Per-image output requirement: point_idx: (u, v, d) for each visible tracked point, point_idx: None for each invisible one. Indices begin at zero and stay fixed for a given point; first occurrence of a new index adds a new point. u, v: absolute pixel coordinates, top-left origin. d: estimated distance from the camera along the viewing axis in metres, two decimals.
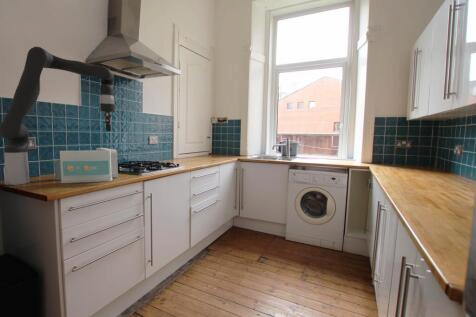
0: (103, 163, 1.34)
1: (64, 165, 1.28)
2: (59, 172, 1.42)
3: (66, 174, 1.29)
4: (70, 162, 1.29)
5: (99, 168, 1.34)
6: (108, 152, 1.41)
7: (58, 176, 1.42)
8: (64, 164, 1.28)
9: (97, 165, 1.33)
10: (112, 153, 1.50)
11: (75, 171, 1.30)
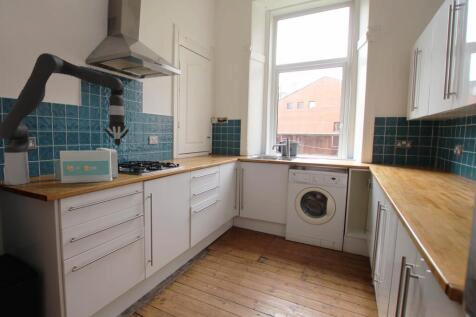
0: (103, 163, 1.34)
1: (64, 165, 1.28)
2: (59, 172, 1.42)
3: (66, 174, 1.29)
4: (70, 162, 1.29)
5: (99, 168, 1.34)
6: (108, 152, 1.41)
7: (58, 176, 1.42)
8: (64, 164, 1.28)
9: (97, 165, 1.33)
10: (112, 153, 1.50)
11: (75, 171, 1.30)
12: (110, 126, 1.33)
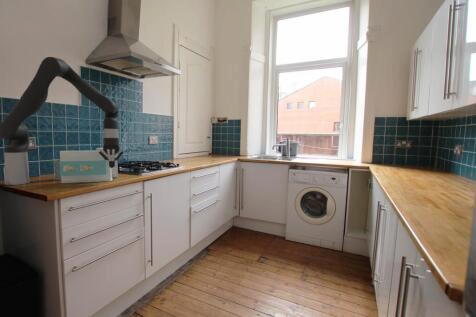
0: (100, 163, 1.34)
1: (61, 165, 1.28)
2: (59, 172, 1.42)
3: (62, 174, 1.29)
4: (67, 162, 1.29)
5: (97, 169, 1.33)
6: None
7: (58, 176, 1.42)
8: (61, 164, 1.28)
9: (94, 165, 1.33)
10: None
11: (72, 171, 1.30)
12: (104, 149, 1.33)
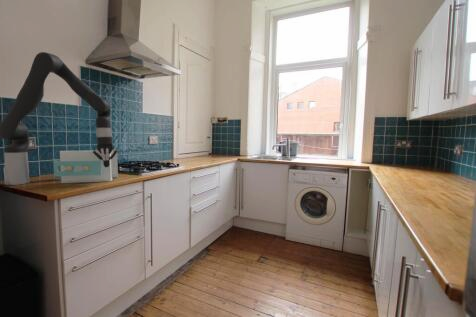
0: (95, 163, 1.33)
1: (55, 165, 1.27)
2: None
3: (57, 174, 1.28)
4: (61, 162, 1.28)
5: (91, 169, 1.33)
6: None
7: (58, 176, 1.42)
8: (55, 165, 1.27)
9: (89, 165, 1.32)
10: (112, 153, 1.50)
11: (66, 171, 1.29)
12: (98, 148, 1.32)
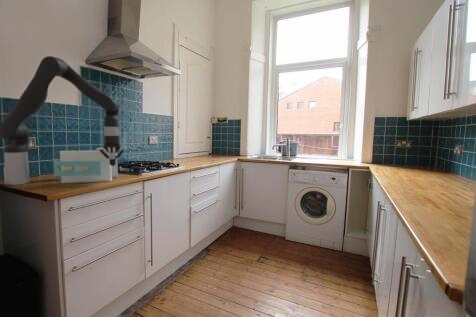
0: (95, 163, 1.33)
1: (55, 165, 1.27)
2: None
3: (57, 174, 1.28)
4: (61, 162, 1.28)
5: (91, 169, 1.33)
6: None
7: (58, 176, 1.42)
8: (55, 165, 1.27)
9: (89, 165, 1.32)
10: (112, 153, 1.50)
11: (66, 171, 1.29)
12: (105, 147, 1.33)
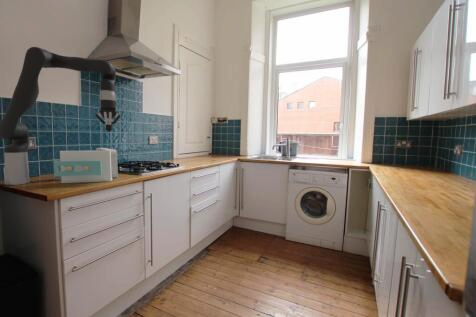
0: (95, 163, 1.33)
1: (55, 165, 1.27)
2: None
3: (57, 174, 1.28)
4: (61, 162, 1.28)
5: (91, 169, 1.33)
6: (108, 152, 1.41)
7: (58, 176, 1.42)
8: (55, 165, 1.27)
9: (89, 165, 1.32)
10: (112, 153, 1.50)
11: (66, 171, 1.29)
12: (101, 111, 1.30)
